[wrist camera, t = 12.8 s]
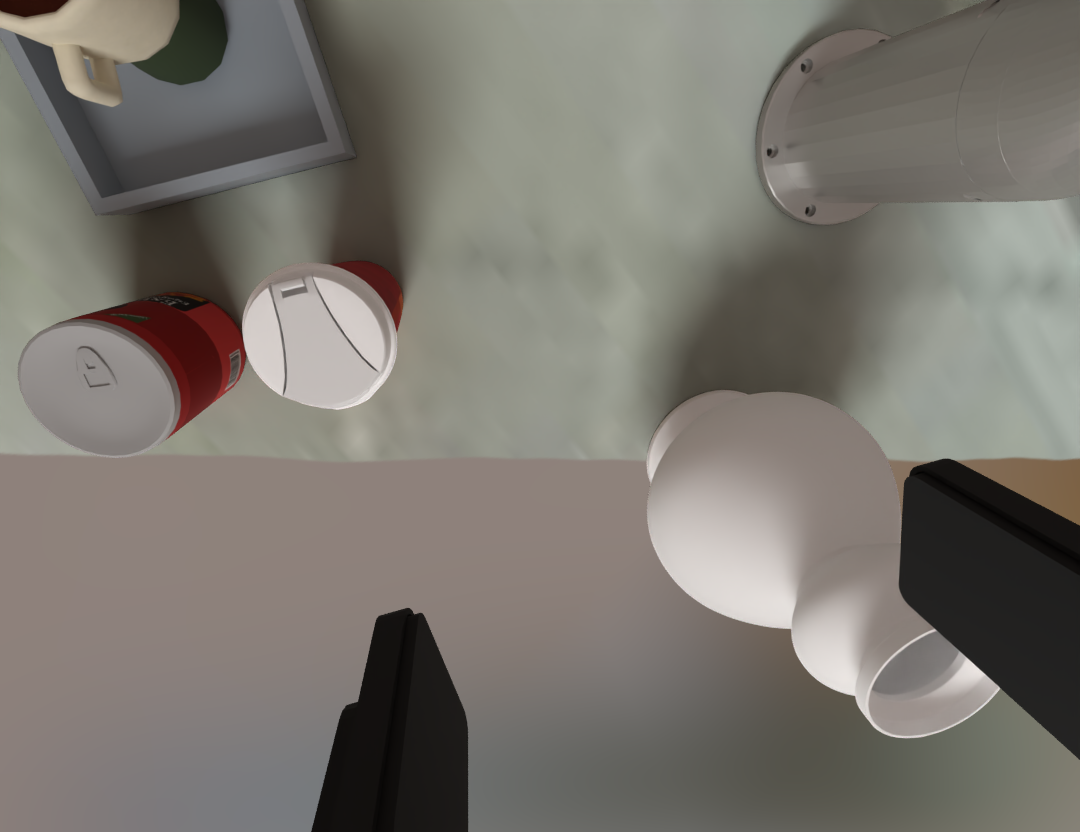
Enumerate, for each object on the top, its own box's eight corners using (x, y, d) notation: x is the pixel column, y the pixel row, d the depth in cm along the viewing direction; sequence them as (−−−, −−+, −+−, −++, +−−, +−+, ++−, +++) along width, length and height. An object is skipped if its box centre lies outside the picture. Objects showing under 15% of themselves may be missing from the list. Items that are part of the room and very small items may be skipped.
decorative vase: (615, 544, 50) (741, 829, 27) (621, 367, 44) (793, 547, 21) (789, 526, 52) (1041, 777, 29) (819, 354, 46) (1178, 504, 23)
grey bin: (239, -191, 29) (210, -242, 25) (356, 157, 35) (345, 152, 32) (-46, -126, 28) (-112, -169, 25) (129, 214, 35) (95, 215, 32)
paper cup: (294, 259, 37) (203, 286, 24) (399, 234, 38) (364, 248, 25) (334, 361, 40) (271, 434, 27) (430, 337, 41) (414, 398, 28)
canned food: (207, 273, 37) (110, 298, 27) (271, 371, 40) (206, 427, 30) (110, 315, 37) (-23, 356, 27) (181, 410, 40) (86, 479, 30)
